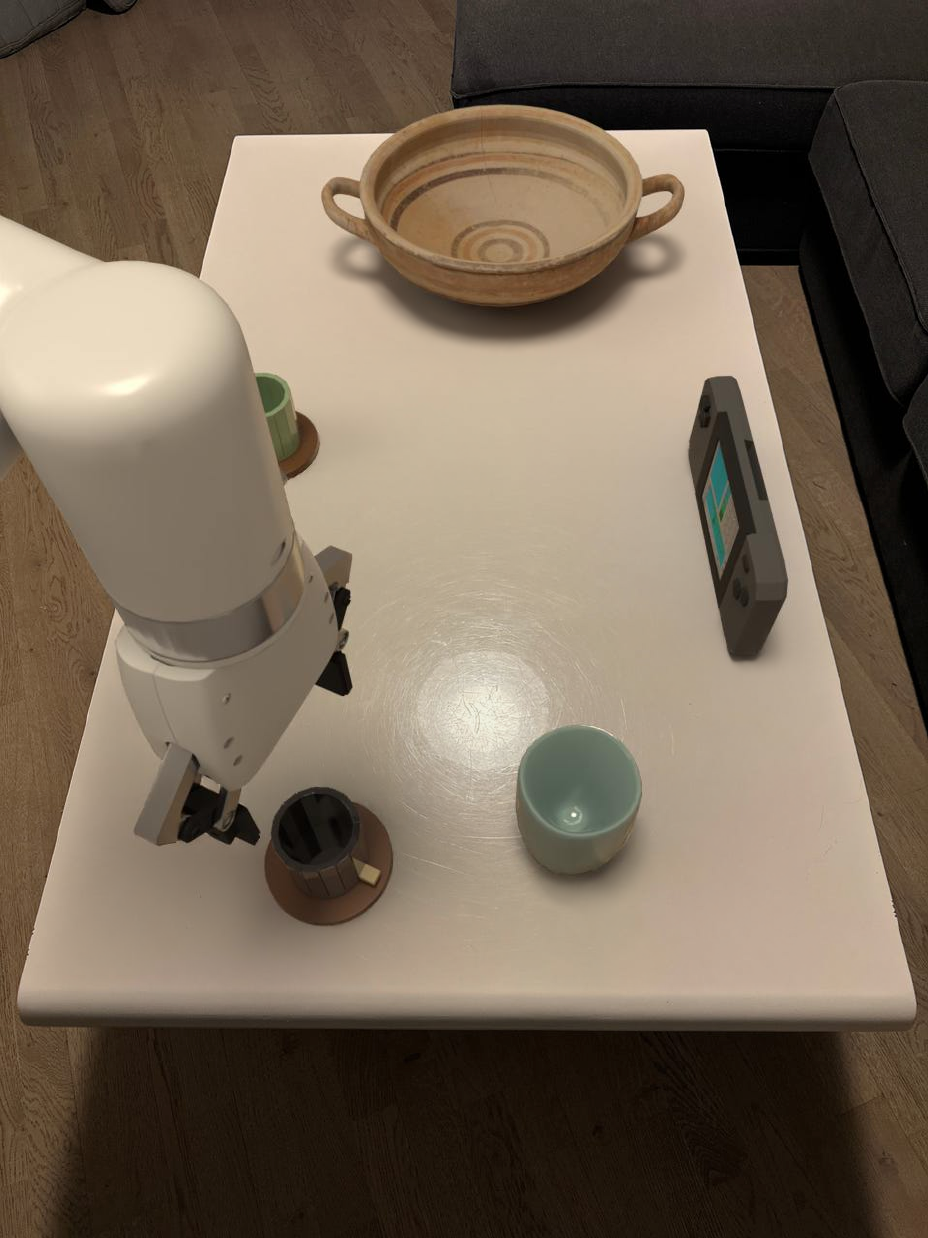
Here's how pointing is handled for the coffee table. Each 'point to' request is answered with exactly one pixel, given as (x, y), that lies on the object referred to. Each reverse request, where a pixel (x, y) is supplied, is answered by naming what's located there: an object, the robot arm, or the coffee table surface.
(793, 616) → the coffee table surface
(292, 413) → the green grooved mug
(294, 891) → the dark base
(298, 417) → the brown dish
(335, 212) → the ceramic bowl
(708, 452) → the handheld gaming console
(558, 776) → the cup
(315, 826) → the dark bucket
